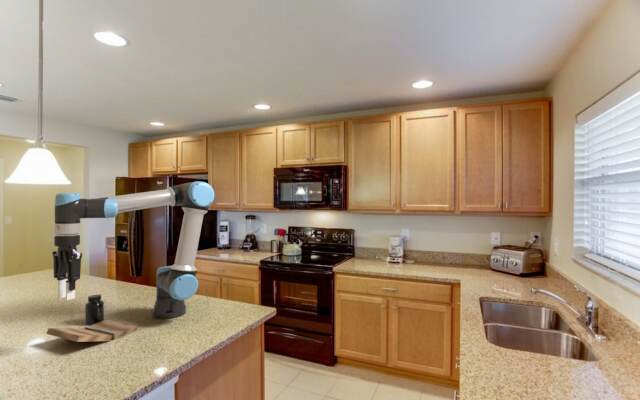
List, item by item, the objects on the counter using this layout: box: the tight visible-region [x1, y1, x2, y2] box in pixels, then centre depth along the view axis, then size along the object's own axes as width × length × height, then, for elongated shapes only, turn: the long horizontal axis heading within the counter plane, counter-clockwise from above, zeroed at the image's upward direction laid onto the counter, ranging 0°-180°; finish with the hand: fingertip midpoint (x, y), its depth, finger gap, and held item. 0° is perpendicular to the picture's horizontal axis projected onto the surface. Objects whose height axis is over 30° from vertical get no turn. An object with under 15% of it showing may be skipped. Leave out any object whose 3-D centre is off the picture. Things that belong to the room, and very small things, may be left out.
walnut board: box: [83, 319, 138, 341], centre depth 135 cm, size 10×18×2 cm, turn 68°
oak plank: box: [46, 327, 112, 343], centre depth 124 cm, size 13×18×2 cm
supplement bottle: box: [84, 294, 105, 326], centre depth 145 cm, size 7×7×12 cm
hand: (66, 298), depth 120 cm, fingers open, 4 cm apart
